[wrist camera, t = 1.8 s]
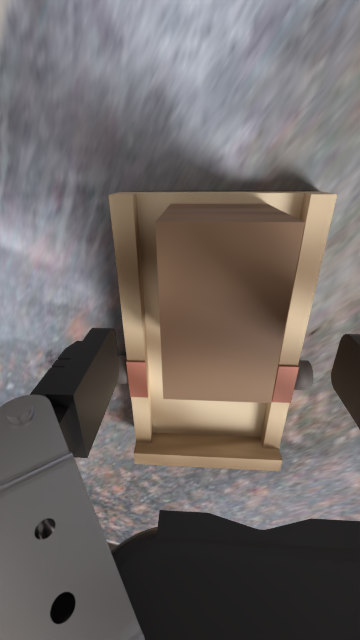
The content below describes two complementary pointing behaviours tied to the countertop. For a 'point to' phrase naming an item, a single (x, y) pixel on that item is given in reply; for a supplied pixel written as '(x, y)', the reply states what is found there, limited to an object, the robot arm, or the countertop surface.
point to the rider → (224, 298)
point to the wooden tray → (145, 341)
